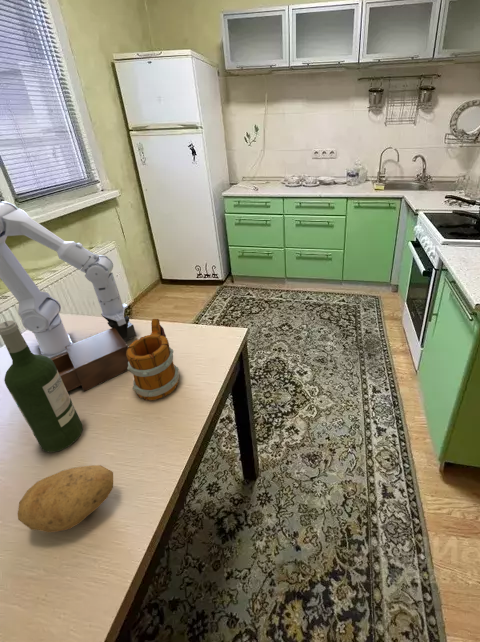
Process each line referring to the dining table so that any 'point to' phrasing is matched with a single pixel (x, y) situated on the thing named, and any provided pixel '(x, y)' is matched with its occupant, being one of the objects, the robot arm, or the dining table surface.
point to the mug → (152, 364)
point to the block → (130, 332)
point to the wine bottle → (39, 393)
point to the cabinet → (98, 358)
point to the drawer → (66, 371)
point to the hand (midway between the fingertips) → (121, 334)
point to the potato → (65, 498)
